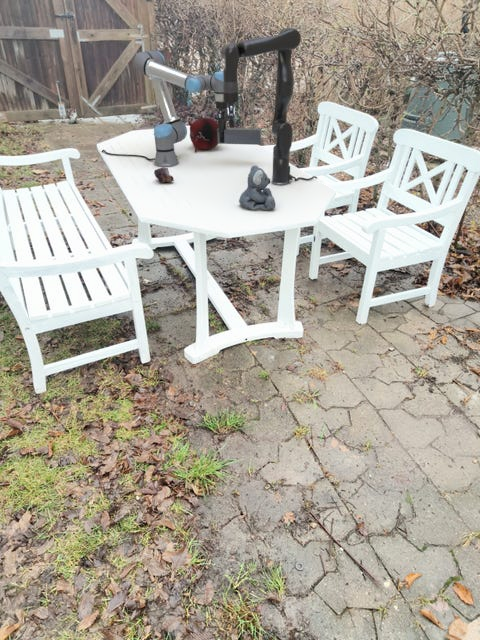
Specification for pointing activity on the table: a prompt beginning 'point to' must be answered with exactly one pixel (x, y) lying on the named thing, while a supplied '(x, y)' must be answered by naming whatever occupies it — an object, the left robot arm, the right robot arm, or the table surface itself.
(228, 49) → the right robot arm
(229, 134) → the bar
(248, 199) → the koala plush
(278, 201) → the table surface
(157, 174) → the rock
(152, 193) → the table surface
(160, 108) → the left robot arm
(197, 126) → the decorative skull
